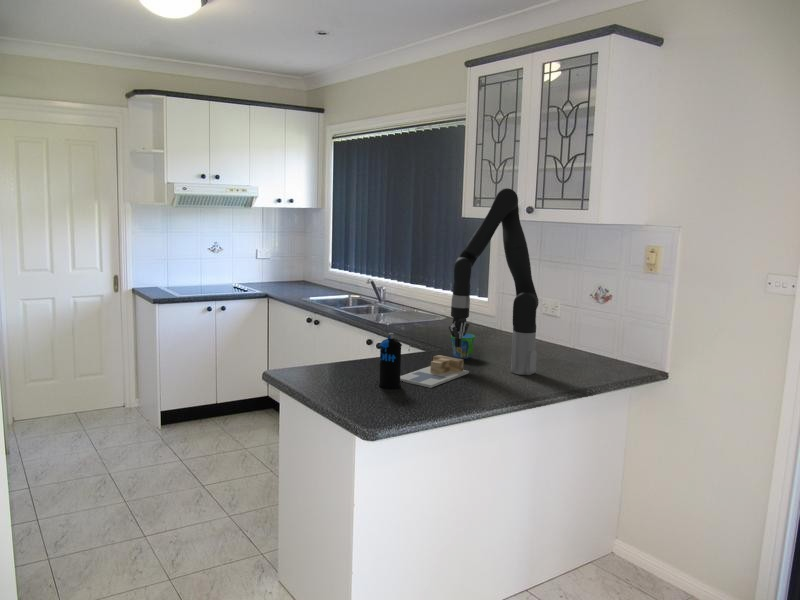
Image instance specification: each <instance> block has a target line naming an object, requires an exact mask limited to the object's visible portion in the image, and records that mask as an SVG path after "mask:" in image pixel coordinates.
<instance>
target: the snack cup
mask: <svg viewBox="0 0 800 600" xmlns="http://www.w3.org/2000/svg"><path fill="white" fill-rule="evenodd" d="M450 339H451V346H452V354H453V355H452V356H453V358H457V359H463V360H468V359H470V358H471V356H472V354H473V353H474V341H475V340H476V335H474V334H473V333H467V332H466V334H465V336H463V338H462V340H461V347H455V338H454V337H452V335H450Z"/></svg>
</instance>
